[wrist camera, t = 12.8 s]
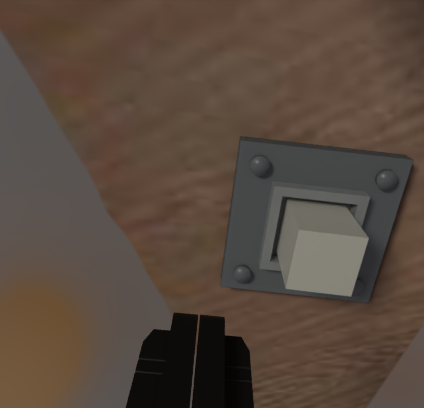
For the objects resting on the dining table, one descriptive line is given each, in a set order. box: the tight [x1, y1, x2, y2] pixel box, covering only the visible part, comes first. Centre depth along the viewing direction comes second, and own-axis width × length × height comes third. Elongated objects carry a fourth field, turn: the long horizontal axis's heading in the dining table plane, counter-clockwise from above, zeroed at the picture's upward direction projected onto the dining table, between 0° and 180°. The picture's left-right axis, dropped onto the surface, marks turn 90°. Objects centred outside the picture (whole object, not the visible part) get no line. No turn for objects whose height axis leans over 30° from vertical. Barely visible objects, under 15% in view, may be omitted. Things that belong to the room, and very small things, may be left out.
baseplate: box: [221, 136, 413, 303], centre depth 34 cm, size 14×14×3 cm
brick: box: [276, 198, 369, 296], centre depth 32 cm, size 5×5×6 cm
